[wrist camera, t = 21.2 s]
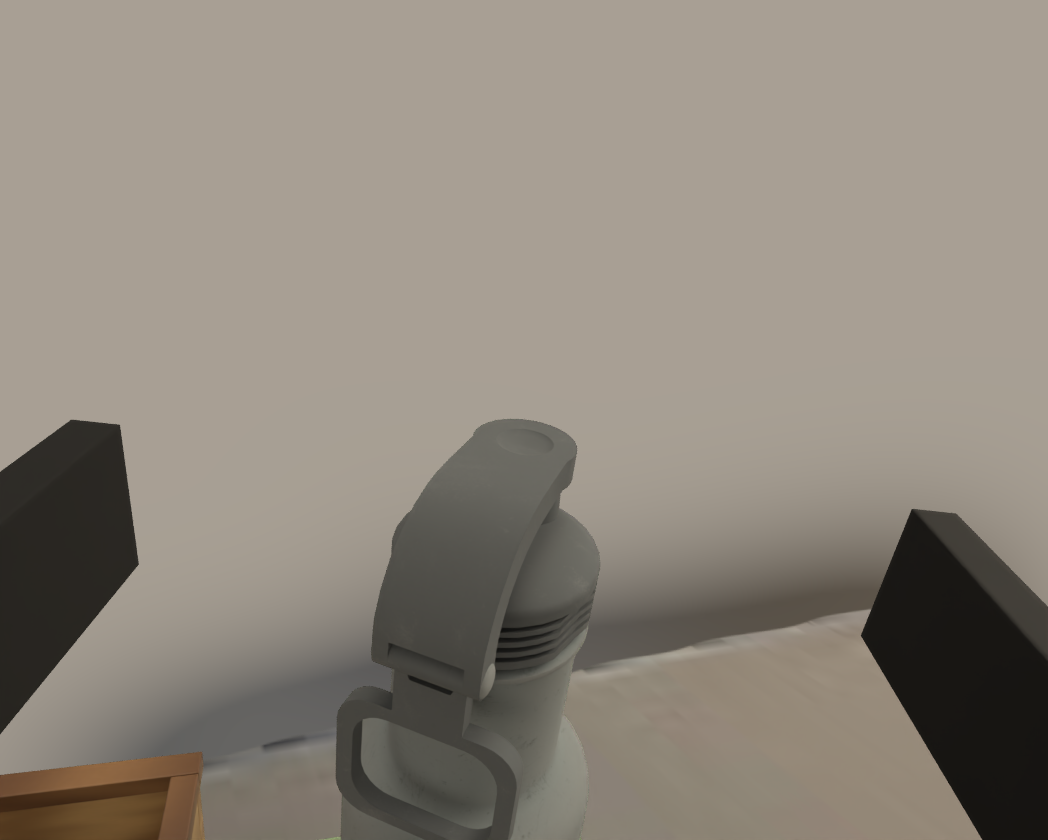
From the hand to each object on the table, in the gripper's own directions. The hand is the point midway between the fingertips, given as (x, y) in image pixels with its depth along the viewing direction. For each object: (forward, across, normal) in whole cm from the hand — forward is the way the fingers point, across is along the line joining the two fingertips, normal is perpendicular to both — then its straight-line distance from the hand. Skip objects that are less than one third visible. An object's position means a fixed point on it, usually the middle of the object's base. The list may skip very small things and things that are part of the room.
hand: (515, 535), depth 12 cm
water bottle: (+10, 0, -32) cm, 34 cm away
